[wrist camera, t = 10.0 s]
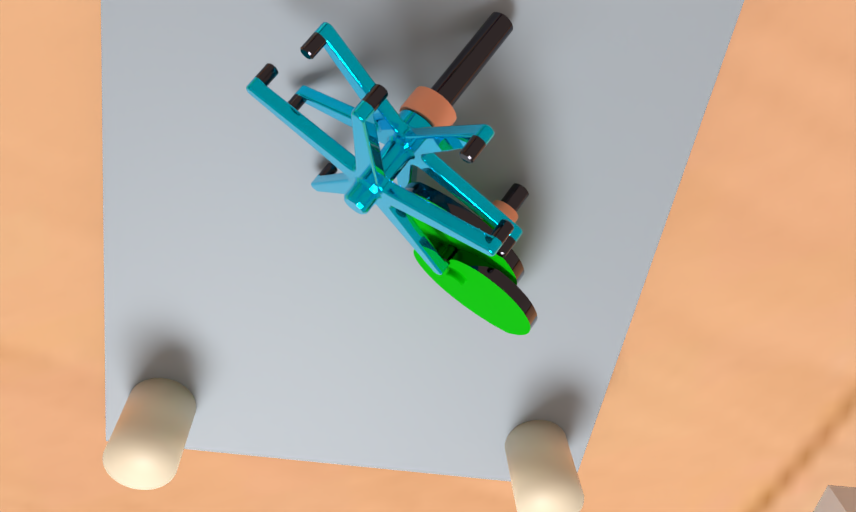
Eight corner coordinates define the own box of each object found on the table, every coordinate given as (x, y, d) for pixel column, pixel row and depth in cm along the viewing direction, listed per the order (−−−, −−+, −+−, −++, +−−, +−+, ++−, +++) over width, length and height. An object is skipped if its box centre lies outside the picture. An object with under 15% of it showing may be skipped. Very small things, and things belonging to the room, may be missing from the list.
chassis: (115, 419, 30) (78, 501, 27) (112, -391, 19) (47, -444, 15) (566, 466, 33) (589, 547, 29) (805, -232, 21) (894, -245, 18)
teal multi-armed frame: (182, 78, 21) (358, 119, 15) (344, -97, 23) (554, -116, 17) (408, 319, 29) (577, 403, 23) (515, 175, 31) (696, 222, 25)
